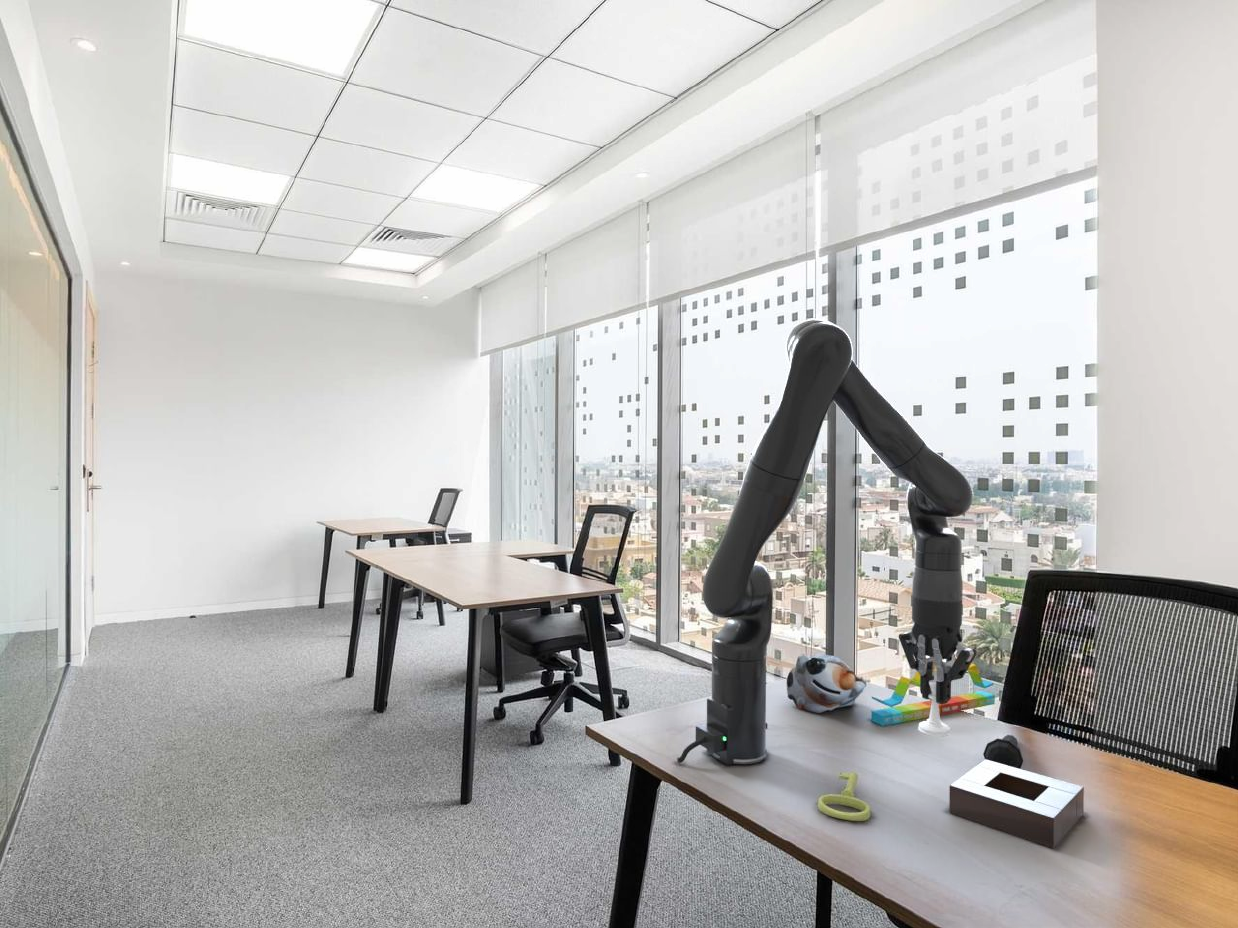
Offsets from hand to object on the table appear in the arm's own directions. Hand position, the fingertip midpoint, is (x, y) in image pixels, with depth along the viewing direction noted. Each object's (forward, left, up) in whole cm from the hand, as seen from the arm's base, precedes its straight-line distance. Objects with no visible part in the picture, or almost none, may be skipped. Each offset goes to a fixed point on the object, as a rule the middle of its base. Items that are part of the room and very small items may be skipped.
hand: (934, 699), depth 121 cm
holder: (-2, -16, -12) cm, 19 cm away
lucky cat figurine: (+7, +31, -12) cm, 34 cm away
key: (-21, -2, -12) cm, 24 cm away
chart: (+24, +19, -12) cm, 32 cm away
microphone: (+15, -4, -12) cm, 19 cm away
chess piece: (0, 0, -5) cm, 5 cm away
